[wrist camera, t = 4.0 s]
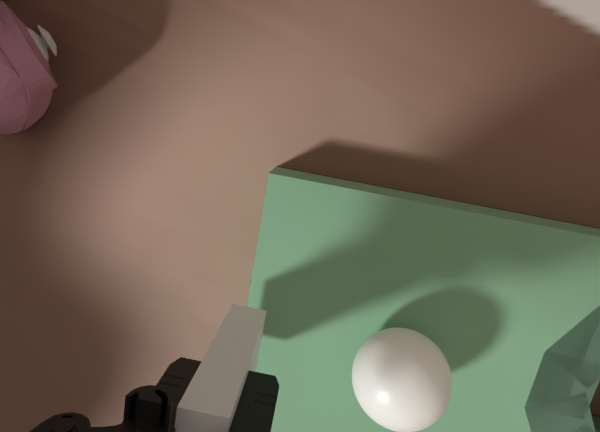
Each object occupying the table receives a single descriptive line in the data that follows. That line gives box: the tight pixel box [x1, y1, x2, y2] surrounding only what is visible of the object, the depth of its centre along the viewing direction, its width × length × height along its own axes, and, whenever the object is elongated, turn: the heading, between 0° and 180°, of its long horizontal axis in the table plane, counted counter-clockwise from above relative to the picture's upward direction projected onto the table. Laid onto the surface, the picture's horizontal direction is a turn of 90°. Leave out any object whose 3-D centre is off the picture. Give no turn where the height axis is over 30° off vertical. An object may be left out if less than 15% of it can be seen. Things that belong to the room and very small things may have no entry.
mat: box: [247, 167, 600, 432], centre depth 20 cm, size 26×14×2 cm, turn 80°
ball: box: [352, 327, 452, 432], centre depth 17 cm, size 4×4×4 cm
